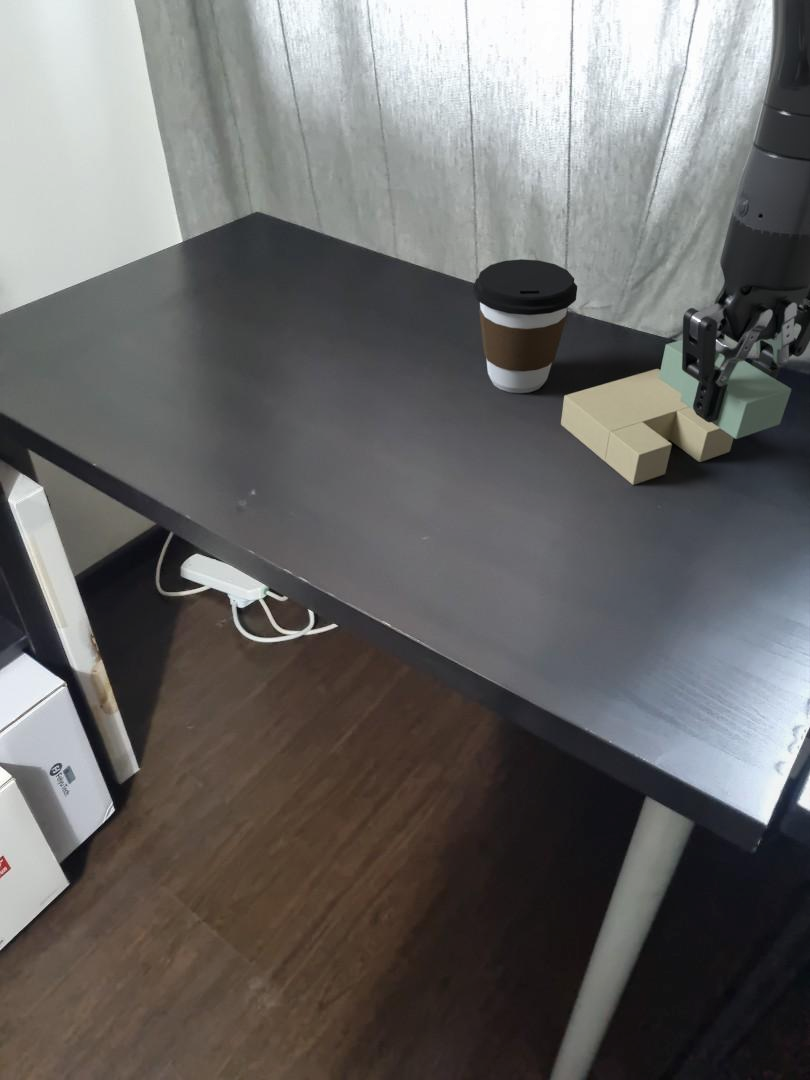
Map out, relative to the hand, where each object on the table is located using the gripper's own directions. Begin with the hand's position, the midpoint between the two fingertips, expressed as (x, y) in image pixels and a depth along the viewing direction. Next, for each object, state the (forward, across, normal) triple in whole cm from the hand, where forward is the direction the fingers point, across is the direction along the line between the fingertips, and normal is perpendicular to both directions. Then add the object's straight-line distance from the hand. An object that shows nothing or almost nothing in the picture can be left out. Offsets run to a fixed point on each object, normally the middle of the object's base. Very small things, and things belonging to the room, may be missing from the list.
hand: (730, 408), depth 72 cm
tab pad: (0, 0, +2) cm, 2 cm away
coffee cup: (+9, -5, +26) cm, 28 cm away
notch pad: (+9, 0, +10) cm, 13 cm away
